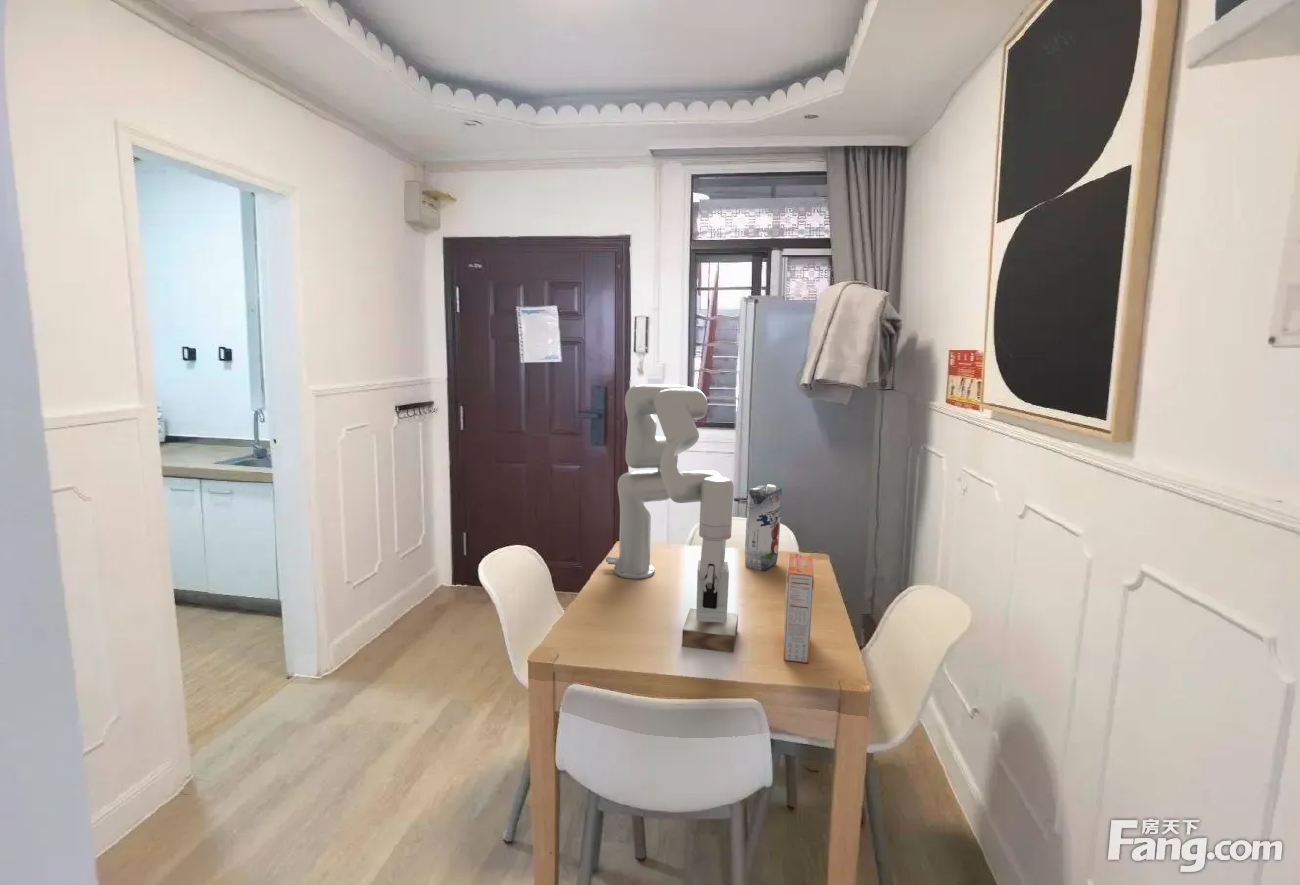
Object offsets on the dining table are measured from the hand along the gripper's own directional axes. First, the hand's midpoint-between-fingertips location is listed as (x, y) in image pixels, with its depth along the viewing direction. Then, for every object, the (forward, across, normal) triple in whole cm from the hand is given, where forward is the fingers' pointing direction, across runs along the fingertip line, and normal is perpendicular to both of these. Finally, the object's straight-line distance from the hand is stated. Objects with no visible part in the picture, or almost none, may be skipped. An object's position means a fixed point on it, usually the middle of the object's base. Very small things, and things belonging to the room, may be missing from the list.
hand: (711, 600), depth 149 cm
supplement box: (+4, 0, 0) cm, 4 cm away
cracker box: (+10, 0, +20) cm, 22 cm away
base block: (+10, 0, 0) cm, 10 cm away
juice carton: (+10, -55, +10) cm, 57 cm away
